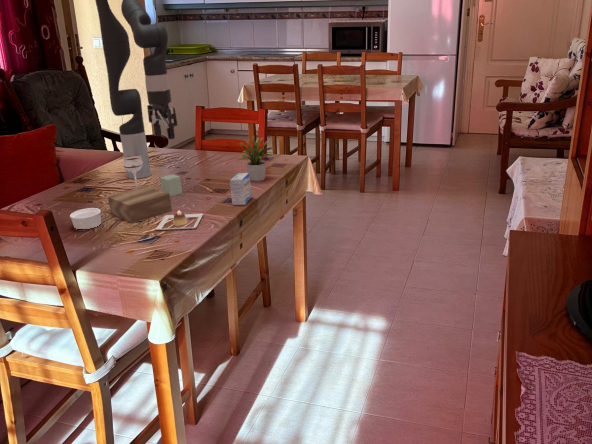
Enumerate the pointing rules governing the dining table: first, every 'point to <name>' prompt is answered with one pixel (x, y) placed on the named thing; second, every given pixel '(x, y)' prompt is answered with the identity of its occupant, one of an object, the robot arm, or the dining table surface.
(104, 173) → the dining table surface
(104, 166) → the dining table surface
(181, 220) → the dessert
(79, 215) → the ramekin
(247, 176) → the medicine box
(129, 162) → the wineglass
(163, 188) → the sage block
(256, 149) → the house plant
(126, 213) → the walnut block
